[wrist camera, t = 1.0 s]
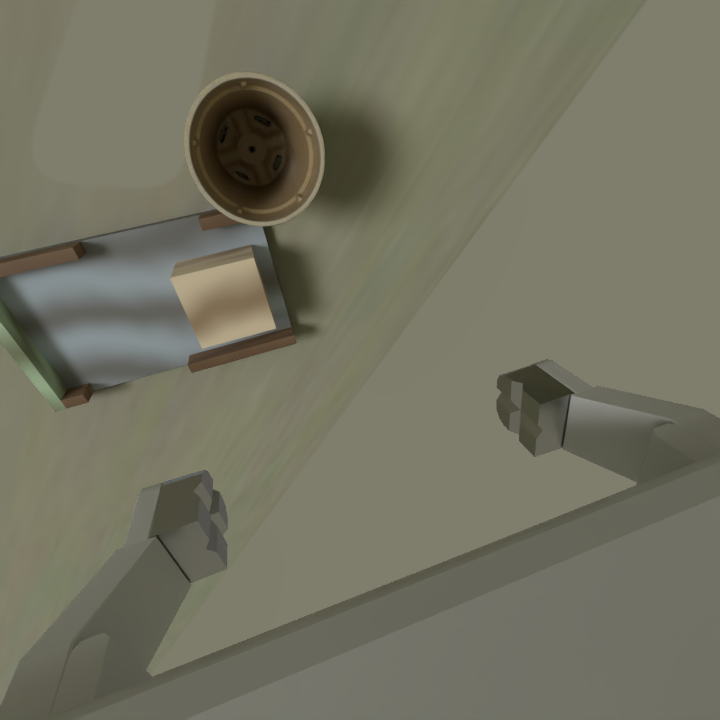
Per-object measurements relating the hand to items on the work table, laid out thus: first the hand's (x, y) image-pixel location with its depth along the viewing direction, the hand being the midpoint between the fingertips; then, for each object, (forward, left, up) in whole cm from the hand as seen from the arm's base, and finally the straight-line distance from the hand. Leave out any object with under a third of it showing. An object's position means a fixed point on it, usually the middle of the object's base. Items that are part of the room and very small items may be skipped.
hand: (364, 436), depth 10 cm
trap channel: (+5, -13, -32) cm, 35 cm away
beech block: (+5, -6, -31) cm, 32 cm away
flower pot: (-6, 0, -32) cm, 33 cm away
